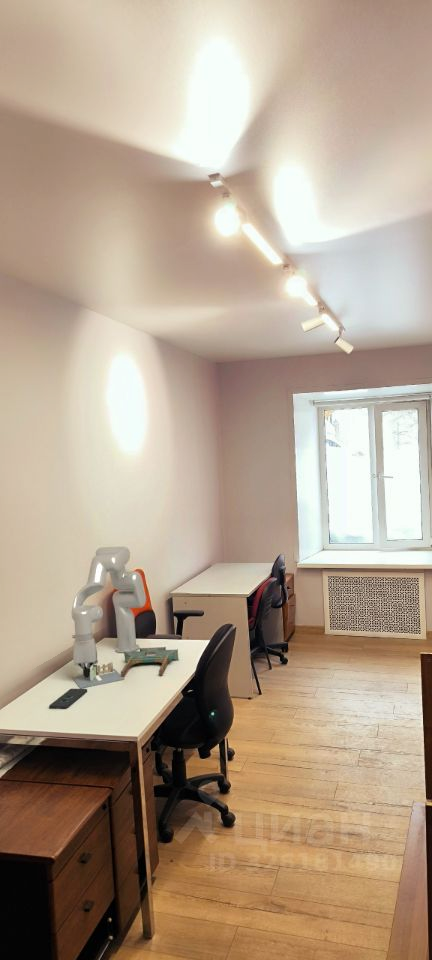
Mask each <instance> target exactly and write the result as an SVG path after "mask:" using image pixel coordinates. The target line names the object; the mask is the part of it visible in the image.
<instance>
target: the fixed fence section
mask: <svg viewBox="0 0 432 960" xmlns="http://www.w3.org/2000/svg"><path fill="white" fill-rule="evenodd" d="M93 667H96V675H100V674H101V673H103V674H105V673H106V672H109V673H110V672H113V669H114V663H113V661H111V662H109V663H107V664H102V665H100V664H99V665H98V664H93V665H92V668H93ZM106 668H107V669H106ZM101 669H102V670H101Z"/></svg>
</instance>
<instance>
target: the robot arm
mask: <svg viewBox="0 0 432 960" xmlns="http://www.w3.org/2000/svg"><path fill="white" fill-rule="evenodd" d="M130 558H131V552H130V550H129V548H128V547H126V546H104V547H99V548H97V549H96V551H95V555H94V556H93V557H92V559H91V563H90V567H89V572H88V577H87V581H86V584H85V585H84V586H83V587H82V588H81V589H80V590H79V591H78V592H77V594H76V595H75V597H74V600H73V604H72V609H71V618H72V620H73V621H74V632H75V633H74V634H73V635H72V636H71V637H72V639H74V641H73V647H72V648H73V649H72V650H73V653H72V654H73V657H72V660H73V665H74V666H78V667H80V668H81V670H82V675H83V676H85V678H86V677H87V678H88V677H89V675H90V672H91V667H93V665H98V663H99V660H98V651H97V645H96V640H95V638H94V636H93V627H92V624H93V623H97V622H99V621H100V620H101V619H102V618H103V615H104V611H103V608H102V607H101V606H100V605H94V604H93V605H84V603H85V601H86V600H87V599H88V598H89V597H91V596H92V595H94V594H96V593H99V592H100V591H103V590H104V589H105V588H106V587H105V586H106V581H107V576H108V573H109V578H110V582H111V585H112V588H113V589H114V590H117V591H115V592H114V593H113V595H112V603H113V607H114V612H115V622H116V635H117V646H116V647H115V648H114V649H115V651H116V652H117V653H119V654H120V653H123V654H124V651H125V652H133V651H138V650H140V649H139V648H140V645H139V644H137V638H136V637H137V636H136V624H135V615H134V612H133V611H132V609H141V608H143V607H144V606H145V605H146V603H147V596H146V592H145V590H146V589H145V586H144V581H143V577H142V575H141V573H140V572H139V571H135V570H130V571H128V570H127V569H126V565H127V564H128V563H129V560H130Z"/></svg>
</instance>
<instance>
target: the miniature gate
mask: <svg viewBox="0 0 432 960" xmlns="http://www.w3.org/2000/svg"><path fill="white" fill-rule="evenodd" d="M138 650H139V651H138ZM138 650H136V651H132V652H125V651H124V653H123V654H124V663H125V664H124V667H123V668H122V669H121V671H120V675H121V677H123V678H125V677H126V675H127V673H128V671H129V670H130V668H131V667H132V666H133V665H136V664H141V663H161V665H160V668H159V669H158V674H159V676H163V675H164V673H165V670H166V668H167V666H168V665H169V662H172V661H179V660H180V659H179V649H178V648H177V649H167V646H161V647H159V646H158V647H139V649H138Z"/></svg>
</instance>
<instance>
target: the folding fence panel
mask: <svg viewBox="0 0 432 960" xmlns="http://www.w3.org/2000/svg"><path fill="white" fill-rule="evenodd" d="M95 676H96V667H93V666H92V669H90V681H93V679H94V677H95Z"/></svg>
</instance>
